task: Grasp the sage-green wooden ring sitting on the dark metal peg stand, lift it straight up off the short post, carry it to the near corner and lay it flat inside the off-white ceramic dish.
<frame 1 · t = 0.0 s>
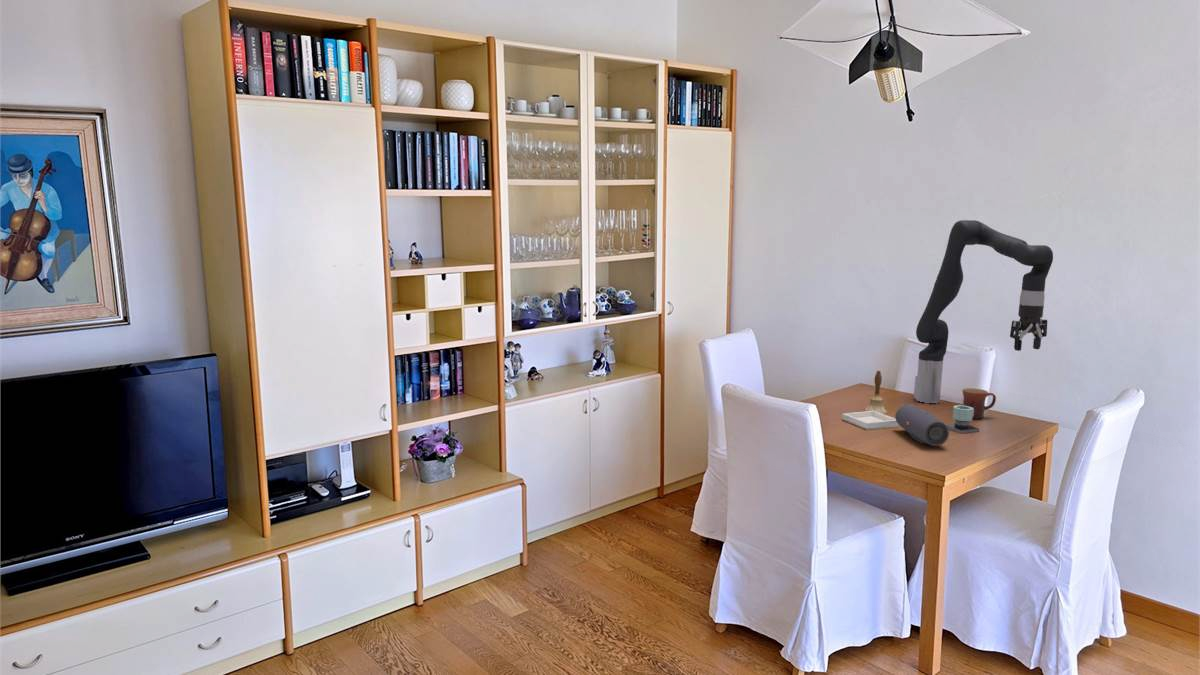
hand: (1026, 349, 289), 29 cm above the table, fingers open, 8 cm apart
tray: (870, 423, 301), on the table
hand bell: (875, 412, 318), on the table
bluetooth speaker: (919, 440, 282), on the table
mug: (976, 418, 311), on the table
ring: (962, 418, 294), point 4 cm above the table, touching stand
stand: (961, 429, 295), on the table
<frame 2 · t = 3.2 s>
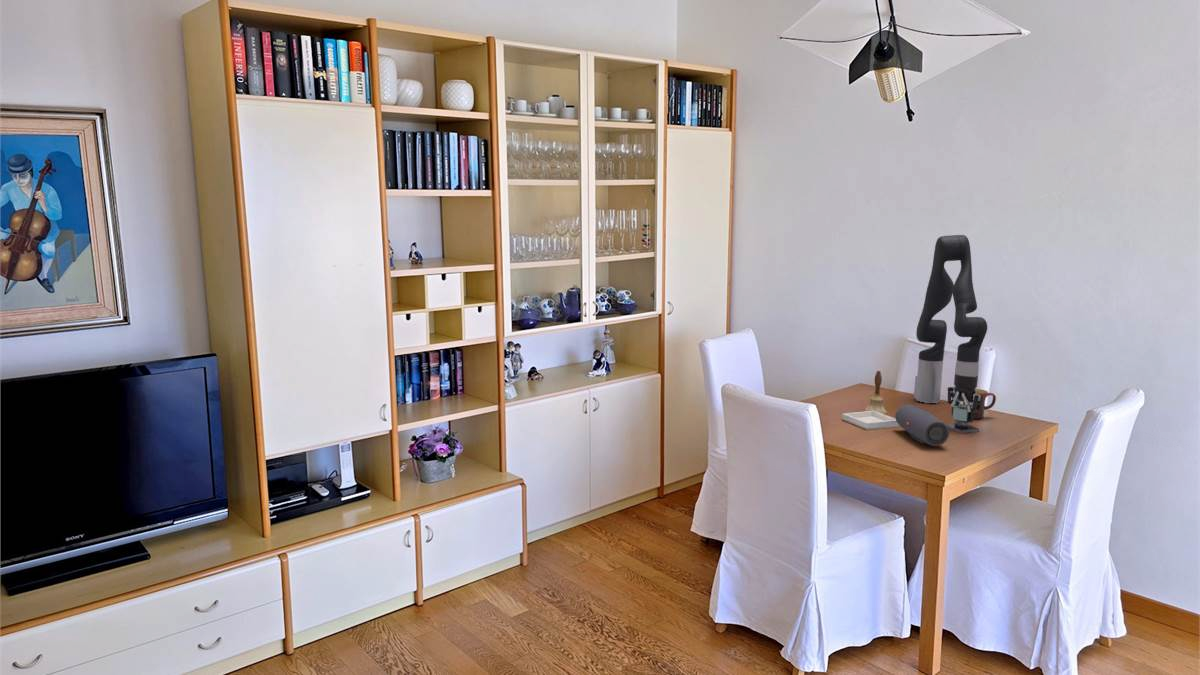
hand: (962, 419, 294), 4 cm above the table, fingers closed on ring, 6 cm apart
ring: (962, 418, 294), point 4 cm above the table, touching gripper, stand
everything else where it was.
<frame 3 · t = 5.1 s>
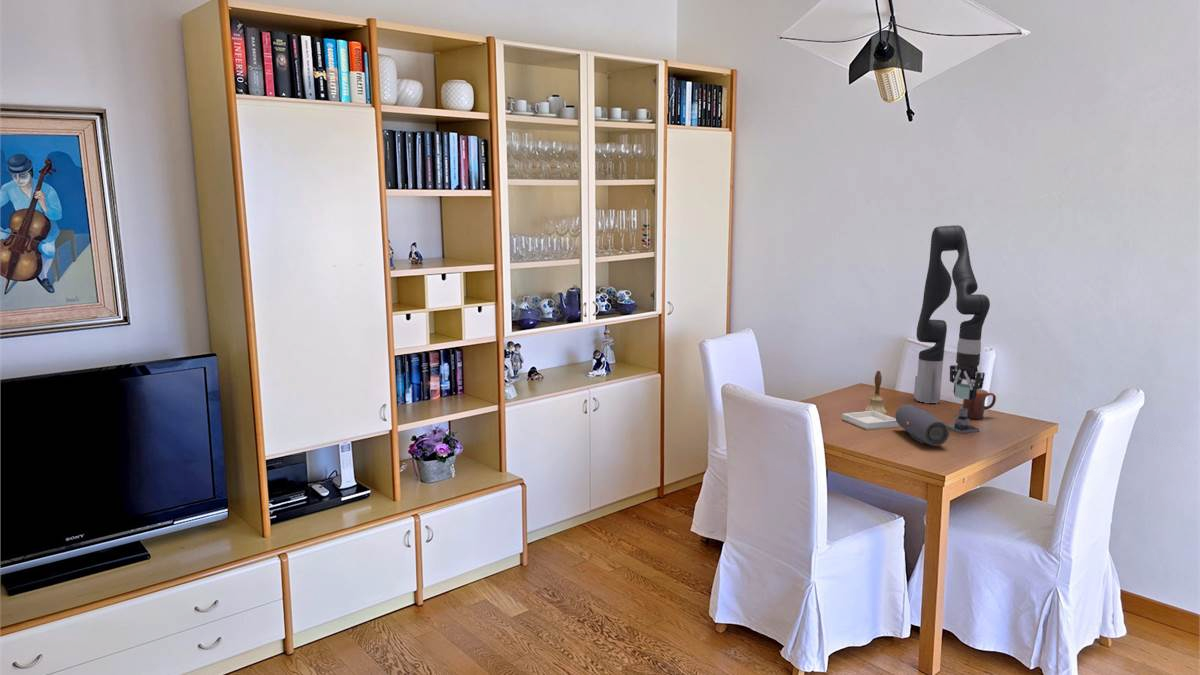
hand: (964, 397, 293), 12 cm above the table, fingers closed on ring, 6 cm apart
ring: (964, 396, 293), point 12 cm above the table, touching gripper
everything else where it was.
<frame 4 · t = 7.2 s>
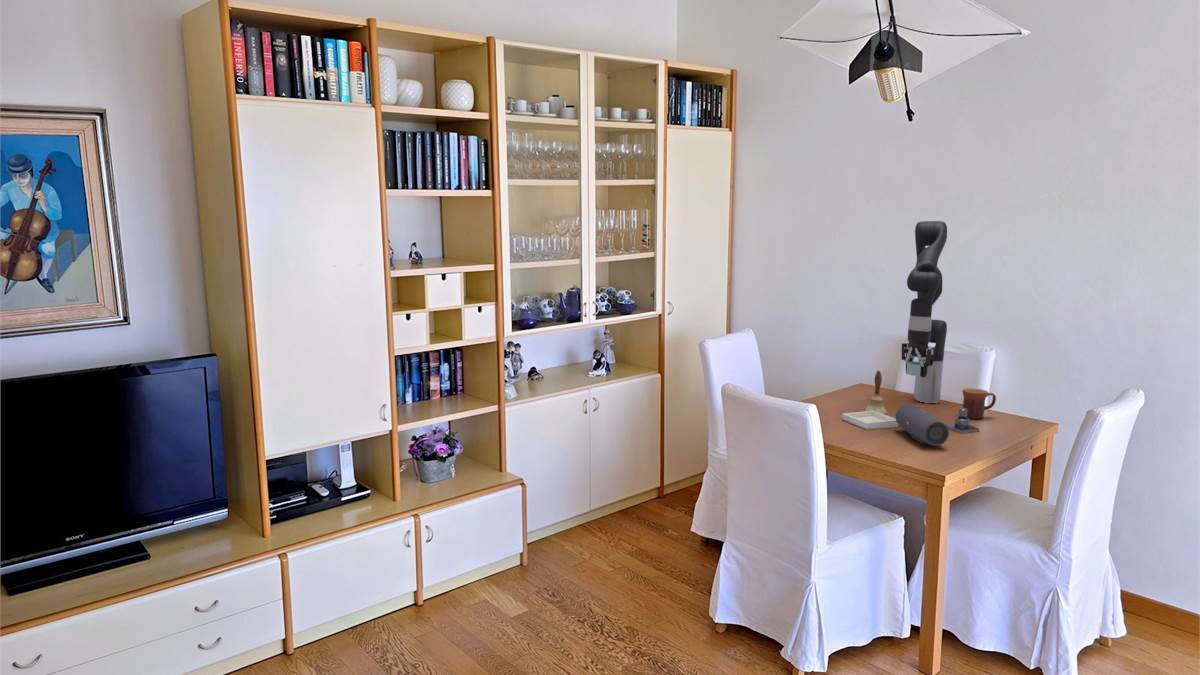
hand: (915, 374, 295), 19 cm above the table, fingers closed on ring, 6 cm apart
ring: (916, 374, 295), point 19 cm above the table, touching gripper
everything else where it was.
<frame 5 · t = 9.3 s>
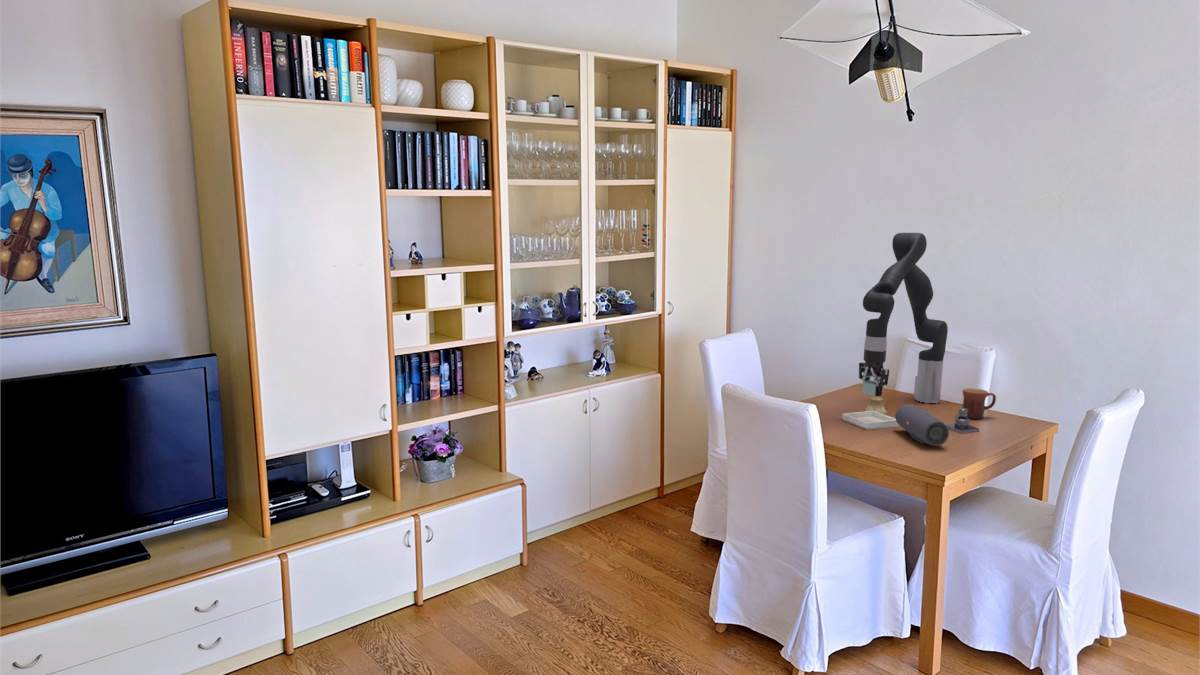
hand: (871, 393, 299), 11 cm above the table, fingers closed on ring, 6 cm apart
ring: (871, 393, 299), point 11 cm above the table, touching gripper
everything else where it was.
when the fingers open (3 cm above the table, at t = 11.1 s): ring drops 2 cm, resting on tray.
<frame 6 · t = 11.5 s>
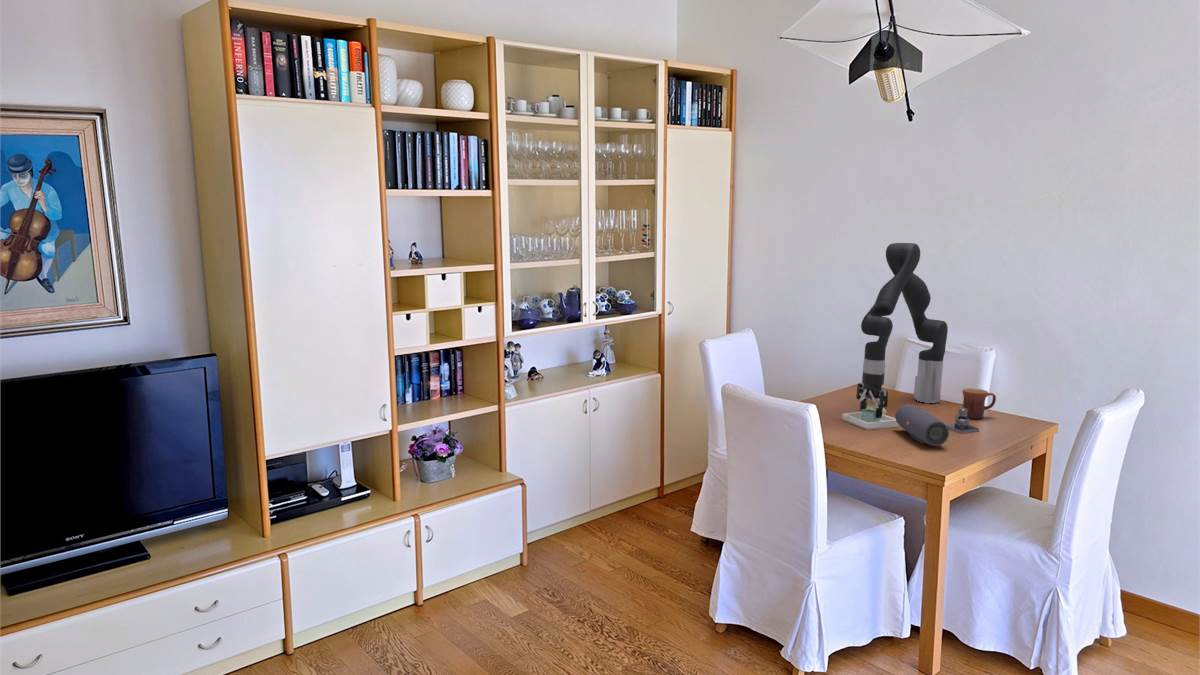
hand: (870, 415, 301), 3 cm above the table, fingers open, 8 cm apart
ring: (870, 421, 301), point 1 cm above the table, touching tray
everything else where it was.
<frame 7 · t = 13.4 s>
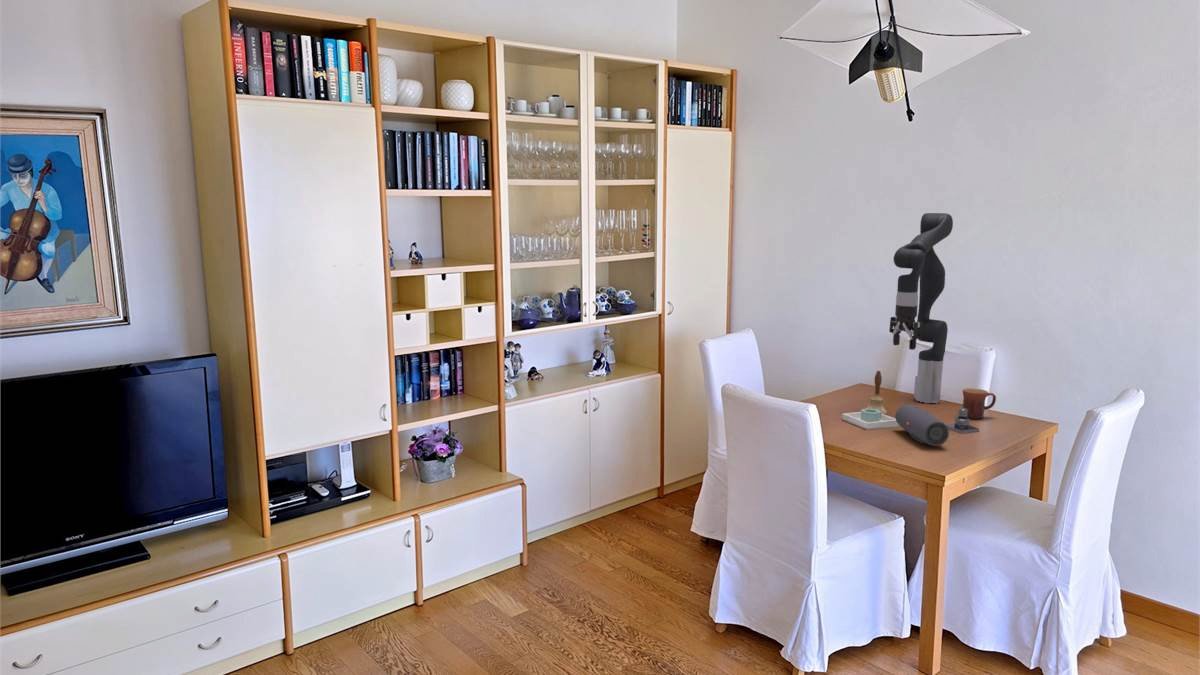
hand: (904, 347, 306), 26 cm above the table, fingers open, 8 cm apart
nothing on the table moved.
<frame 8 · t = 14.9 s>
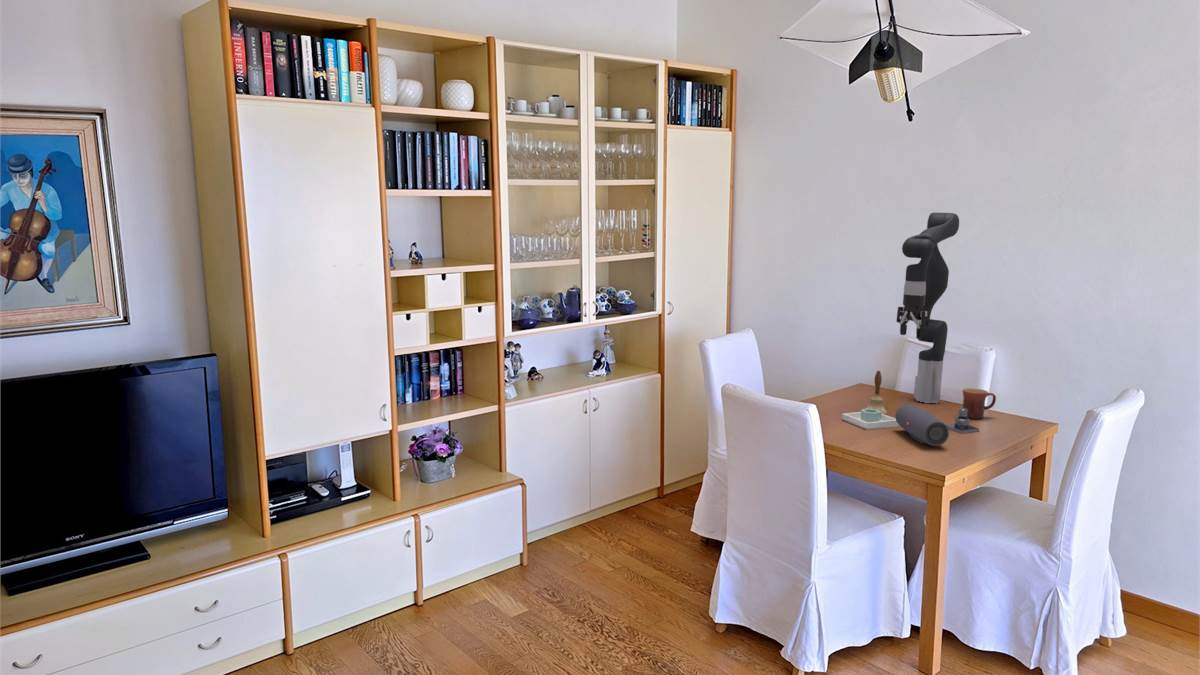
hand: (911, 336, 308), 30 cm above the table, fingers open, 8 cm apart
nothing on the table moved.
at the end: ring inside the target area on the tray (0.0 cm from its centre), point 0.6 cm above the tray's base; ring tilted 0°; the gripper is holding nothing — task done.
